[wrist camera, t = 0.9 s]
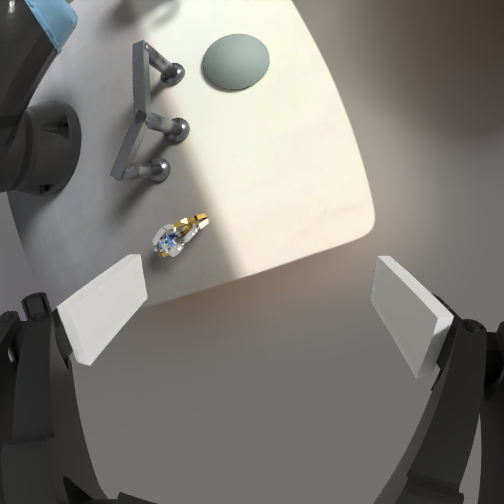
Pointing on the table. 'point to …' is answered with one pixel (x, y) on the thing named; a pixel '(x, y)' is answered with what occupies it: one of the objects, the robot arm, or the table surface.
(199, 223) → the ring
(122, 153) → the bent grey rail
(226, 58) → the felt coaster
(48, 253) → the table surface
